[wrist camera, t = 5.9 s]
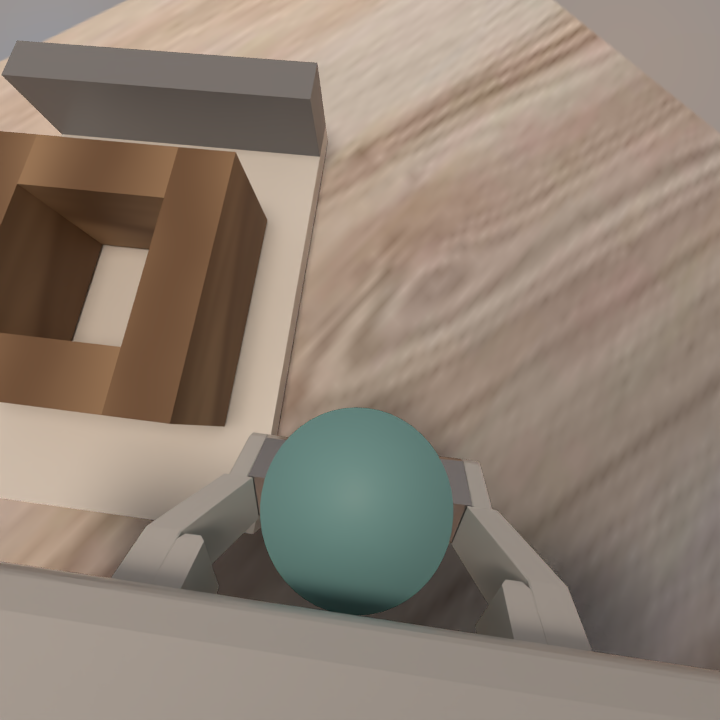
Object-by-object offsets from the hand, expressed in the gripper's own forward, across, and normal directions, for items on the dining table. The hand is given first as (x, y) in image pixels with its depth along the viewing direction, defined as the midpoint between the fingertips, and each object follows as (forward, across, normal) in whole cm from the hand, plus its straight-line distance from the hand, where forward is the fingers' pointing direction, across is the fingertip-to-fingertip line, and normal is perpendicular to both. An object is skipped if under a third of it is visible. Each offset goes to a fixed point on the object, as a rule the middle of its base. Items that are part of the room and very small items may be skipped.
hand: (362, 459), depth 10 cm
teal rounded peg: (+3, 0, +4) cm, 4 cm away
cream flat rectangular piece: (+8, +11, -1) cm, 13 cm away
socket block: (+6, +11, -2) cm, 13 cm away
